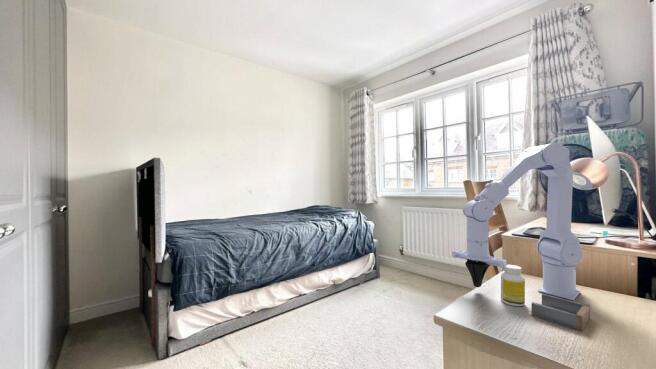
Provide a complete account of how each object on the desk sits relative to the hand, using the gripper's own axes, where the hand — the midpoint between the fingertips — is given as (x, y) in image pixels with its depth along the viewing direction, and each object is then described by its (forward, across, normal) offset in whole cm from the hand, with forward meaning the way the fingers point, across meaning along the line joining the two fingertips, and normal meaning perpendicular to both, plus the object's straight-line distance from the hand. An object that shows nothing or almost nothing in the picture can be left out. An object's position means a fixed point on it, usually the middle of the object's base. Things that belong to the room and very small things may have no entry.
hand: (477, 286), depth 80 cm
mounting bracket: (+2, +19, 0) cm, 19 cm away
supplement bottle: (+2, +9, 0) cm, 9 cm away
